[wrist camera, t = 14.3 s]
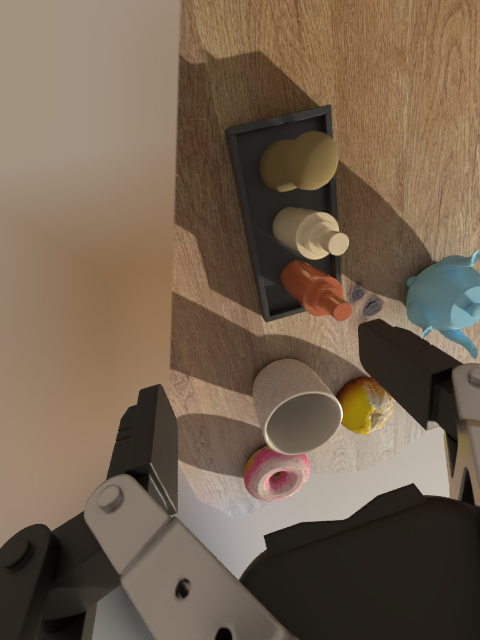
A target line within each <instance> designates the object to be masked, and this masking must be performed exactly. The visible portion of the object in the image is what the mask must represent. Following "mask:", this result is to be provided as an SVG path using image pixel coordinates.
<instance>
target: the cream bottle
mask: <svg viewBox="0 0 480 640" xmlns="http://www.w3.org/2000/svg"><path fill="white" fill-rule="evenodd" d="M273 234H274V236H275V238H276V239H277V241H278V242H280V243H281V244H283V245H285V246H286V247H288V248H290V249H292V250H293V251H295V252H297V253H299V254H301V255H302V256H304V257H306V258H308V259H320V258H323V257H325V256H327V255H328V254H329V253H330V254H332V255H341V254H343V253H344V252H345V251H346V250H347V248H348V245H349V239H348V237H347V235H346V234H344V233H341V232H339V227H338V224H337V222H336V220H335V218H334V217H333V216H331V215H330V214H328V213H325V212H320V211H315V210H309V209H304V208H299V207H287V208H284V209H282V210H281V211H280V212H279V213H278V214H277V215H276V217H275V219H274V222H273Z"/></svg>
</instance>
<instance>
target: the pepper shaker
mask: <svg viewBox="0 0 480 640" xmlns="http://www.w3.org/2000/svg"><path fill="white" fill-rule="evenodd" d="M337 165H338V150H337V147H336V144H335V142H334V141H333V140H332V138H331V137H330V136H328V135H327V134H325V133H323V132H318V131H311V132H306V133H304V134H303V135H301V136H299V137H298V138H296V140H285V139H282V140H278V141H275V142H273V143H272V144H270V145H269V146H268V147H267V148H266V149H265V151H264V152H263V154H262V157H261V159H260V166H259V169H260V176H261V178H262V180H263V182H264V184H265V185H266V186H267V187H268V188H269V189H271V190H273V191H275V192H281V193H282V192H287V191H290V190H293V189H295V188H300V189H304V190H315V189H319V188H320V187H322V186H324V185H325V184H327V183H328V182H329V181H330V179H331V178H332V177H333V175H334V173H335V171H336V169H337Z"/></svg>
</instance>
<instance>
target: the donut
mask: <svg viewBox="0 0 480 640" xmlns="http://www.w3.org/2000/svg"><path fill="white" fill-rule="evenodd" d="M309 472H310V464H309V460H308V458H307V457H306V455H305V454H300V455H285V454H281V453H278V452H276V451H274V450H272V449H271V448H270V447H269V446H268V445H267V446H265V447H263V448H261V449H259V450H258V451H256V452H255V453H254V454H253V455H252V456H251V458H250V459H249V461H248V462H247V464H246V467H245V470H244V482H245V487H246V489H247V490H248V492H249V493H250V494H251V495H252V496H253V497H255V498H257V499H260V500H264V501H275V500H280V499H284V498H286V497H289V496H290V495H293V494H294V493H296V492H297V491H298V490H299V489H300V488H301V487H302V486H303V485H304V483H305V482H306V480H307V479H308V476H309Z"/></svg>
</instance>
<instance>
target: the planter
mask: <svg viewBox="0 0 480 640" xmlns="http://www.w3.org/2000/svg"><path fill="white" fill-rule="evenodd" d="M253 400H254V406H255V410H256V414H257V417H258V420H259V424H260V427H261V431H262V434H263V437H264V440H265V442H266V444H267V445H268V446H269V447H270V448H271V449H272V450H274V451H276V452H278V453H281V454H285V455H300V454H305V453H308V452H311V451H313V450H316V449H318V448H319V447H321V446H323V445H324V444H325V443H327V442H328V441H329V440H330V439H331V438H332V437H333V436H334V435H335V433H336V432H337V430H338V428H339V426H340V424H341V421H342V407H341V405H340V403H339V401H338V400H337V398H336V397H335V396H334V395H333V393H332V392H331V391H330V390H329V388H328V387H327V386H326V385H325V383H324V382H323V381H322V380H321V379H320V378H319V376H318V375H317V374H316V373H315V372H314V371H313V370H312V369H311V368H310V367H309V366H307V365H306V364H304V363H303V362H301V361H298V360H294V359H282V360H277V361H275V362H272V363H270V364H269V365H267V366H266V367H265V368H263V369H262V370H261V371H260V373H259V374H258V375H257V377H256V379H255V382H254V385H253Z"/></svg>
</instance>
